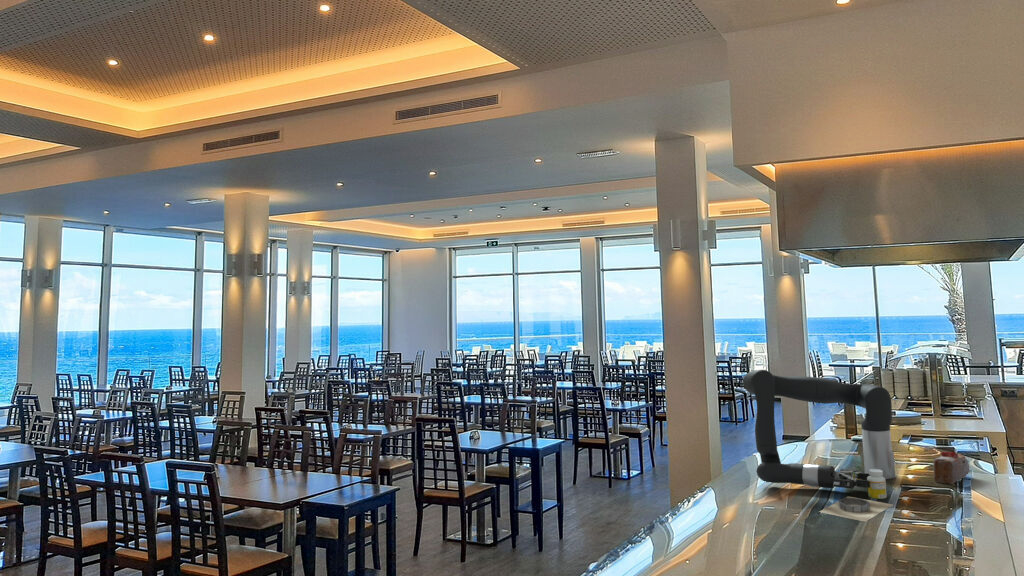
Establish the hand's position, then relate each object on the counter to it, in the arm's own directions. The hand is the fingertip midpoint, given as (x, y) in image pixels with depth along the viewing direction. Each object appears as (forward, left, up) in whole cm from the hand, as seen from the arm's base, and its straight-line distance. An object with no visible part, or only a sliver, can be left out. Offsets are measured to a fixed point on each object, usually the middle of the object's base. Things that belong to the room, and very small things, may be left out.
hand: (871, 480), depth 220 cm
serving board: (+8, +13, -6) cm, 17 cm away
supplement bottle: (-1, 0, -6) cm, 6 cm away
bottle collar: (+8, +13, -5) cm, 17 cm away
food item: (-31, -24, -6) cm, 40 cm away
